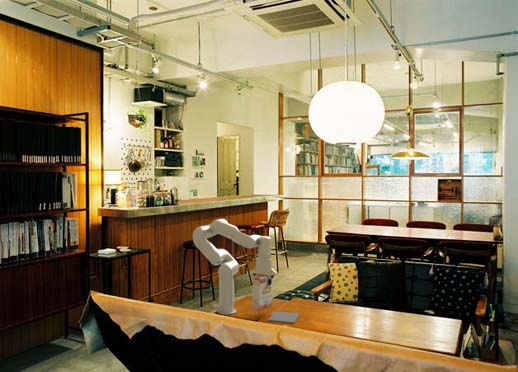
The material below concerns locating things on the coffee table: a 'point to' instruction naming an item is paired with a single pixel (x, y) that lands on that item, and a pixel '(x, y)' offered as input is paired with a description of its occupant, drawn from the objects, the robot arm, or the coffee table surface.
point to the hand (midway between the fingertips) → (263, 284)
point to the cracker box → (262, 292)
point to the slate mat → (284, 317)
